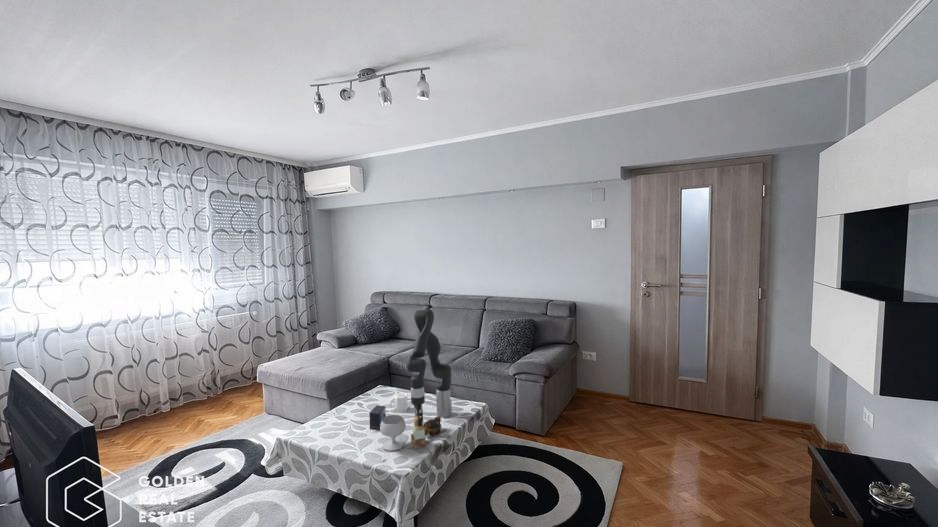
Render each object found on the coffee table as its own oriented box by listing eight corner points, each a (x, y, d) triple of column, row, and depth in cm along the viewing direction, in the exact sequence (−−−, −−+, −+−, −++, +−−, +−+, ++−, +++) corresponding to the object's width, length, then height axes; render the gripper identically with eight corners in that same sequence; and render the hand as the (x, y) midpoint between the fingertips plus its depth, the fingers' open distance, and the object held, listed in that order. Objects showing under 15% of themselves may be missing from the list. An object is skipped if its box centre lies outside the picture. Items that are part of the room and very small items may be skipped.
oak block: (422, 425, 218) (421, 414, 218) (423, 429, 214) (423, 418, 213) (413, 426, 217) (413, 416, 216) (415, 430, 212) (414, 420, 212)
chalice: (411, 444, 216) (410, 418, 215) (391, 455, 206) (390, 428, 205) (396, 436, 226) (395, 411, 225) (375, 446, 215) (374, 420, 214)
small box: (379, 430, 233) (378, 413, 233) (369, 429, 235) (368, 412, 234) (386, 421, 244) (385, 405, 243) (376, 421, 245) (376, 405, 244)
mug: (407, 406, 266) (406, 392, 265) (408, 411, 257) (407, 397, 256) (389, 408, 263) (388, 394, 262) (389, 413, 254) (389, 399, 254)
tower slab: (423, 440, 221) (423, 432, 220) (425, 446, 214) (425, 438, 214) (411, 442, 219) (410, 434, 218) (413, 449, 212) (413, 440, 212)
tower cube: (422, 433, 219) (422, 424, 219) (424, 438, 214) (424, 429, 213) (413, 435, 217) (412, 426, 217) (414, 439, 212) (414, 431, 212)
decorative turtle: (446, 428, 233) (445, 416, 232) (432, 442, 220) (431, 429, 219) (432, 424, 238) (432, 412, 237) (418, 437, 225) (417, 424, 224)
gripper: (427, 398, 208) (428, 427, 209) (421, 388, 222) (422, 416, 223) (413, 400, 206) (414, 430, 207) (408, 390, 219) (409, 418, 221)
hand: (418, 422), depth 215 cm, fingers open, 8 cm apart
